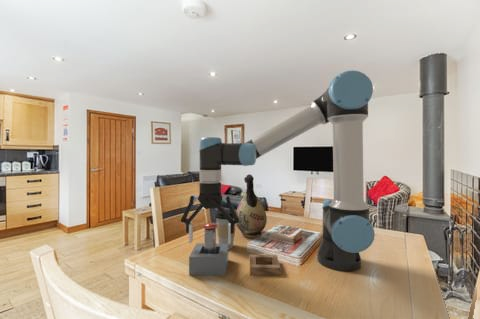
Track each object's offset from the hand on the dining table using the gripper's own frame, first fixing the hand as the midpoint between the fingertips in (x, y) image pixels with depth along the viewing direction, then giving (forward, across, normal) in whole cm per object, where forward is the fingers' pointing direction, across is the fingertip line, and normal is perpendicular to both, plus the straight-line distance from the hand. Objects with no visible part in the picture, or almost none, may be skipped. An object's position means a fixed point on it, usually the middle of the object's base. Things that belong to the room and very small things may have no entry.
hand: (210, 242), depth 86 cm
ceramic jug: (+9, -15, -34) cm, 38 cm away
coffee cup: (+9, -4, -19) cm, 21 cm away
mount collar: (+9, -19, 0) cm, 21 cm away
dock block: (+9, 0, 0) cm, 9 cm away
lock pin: (+9, 0, 0) cm, 9 cm away
